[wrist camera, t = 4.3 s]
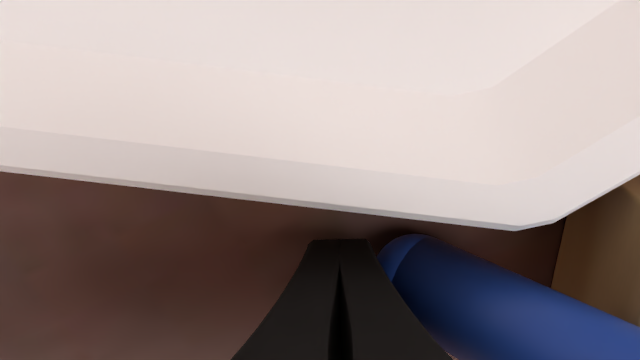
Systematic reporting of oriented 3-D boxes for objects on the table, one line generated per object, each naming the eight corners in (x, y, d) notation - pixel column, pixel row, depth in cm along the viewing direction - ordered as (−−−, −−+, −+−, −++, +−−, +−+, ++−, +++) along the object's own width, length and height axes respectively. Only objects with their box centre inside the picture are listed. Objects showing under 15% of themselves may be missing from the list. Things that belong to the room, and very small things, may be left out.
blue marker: (374, 282, 12) (345, 473, 7) (376, 214, 11) (344, 383, 6) (644, 310, 10) (797, 555, 6) (669, 235, 10) (869, 459, 5)
